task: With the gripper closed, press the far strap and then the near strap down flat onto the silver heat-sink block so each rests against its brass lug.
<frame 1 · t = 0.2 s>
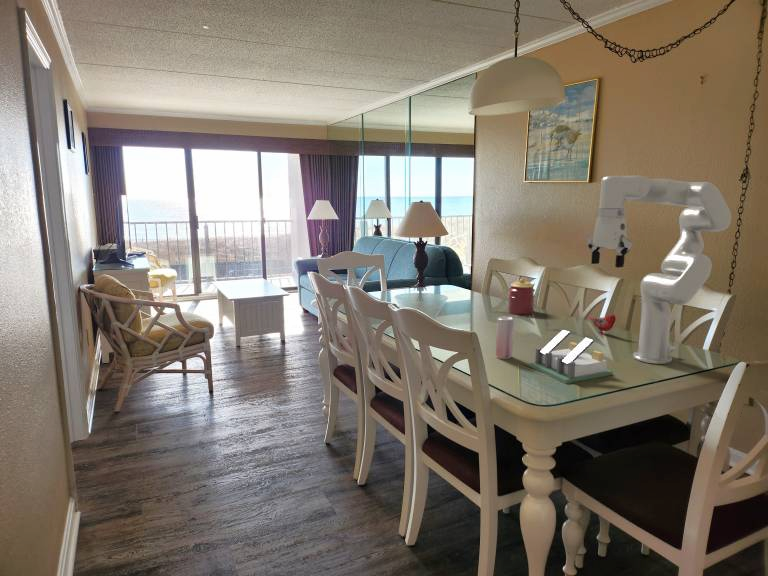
hand: (606, 265, 173), 36 cm above the table, tool pointing down, fingers open, 9 cm apart
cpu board: (570, 370, 177), on the table
beverage can: (503, 357, 192), on the table
near strap: (577, 351, 170), point 9 cm above the table, hinge at 35.0°
canister: (520, 312, 263), on the table
far strap: (555, 342, 180), point 9 cm above the table, hinge at 35.0°
decorative bird figurine: (599, 333, 223), on the table
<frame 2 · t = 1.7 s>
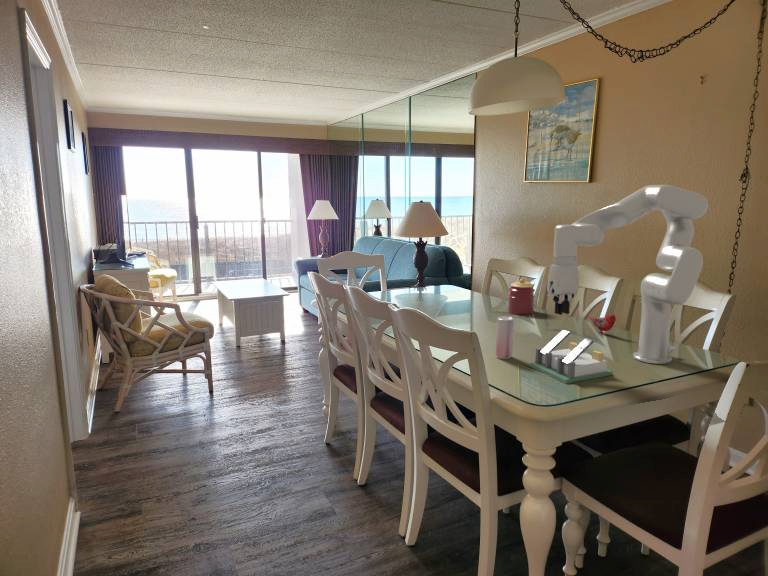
hand: (561, 313, 179), 19 cm above the table, tool pointing down, fingers closed
nothing on the table moved.
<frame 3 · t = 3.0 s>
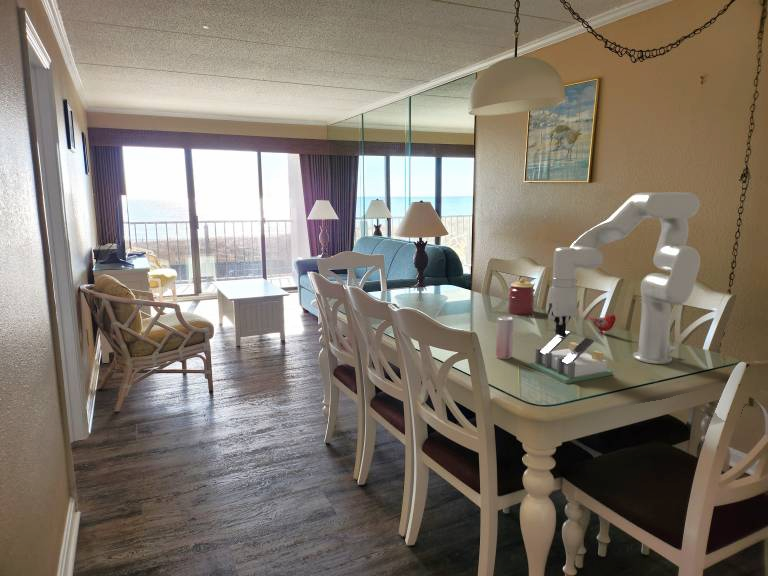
hand: (560, 334, 180), 11 cm above the table, tool pointing down, fingers closed
far strap: (555, 342, 180), point 9 cm above the table, hinge at 35.0°, touching gripper
everything else where it was.
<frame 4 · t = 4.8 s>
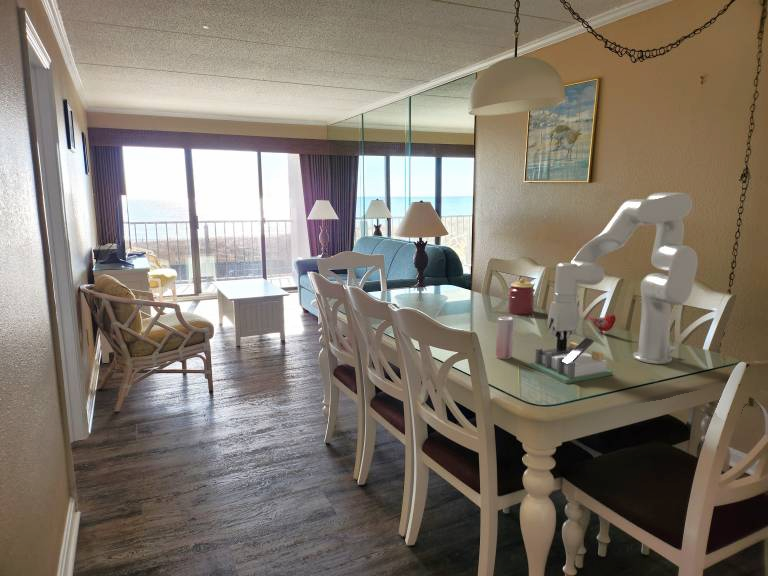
hand: (561, 349, 182), 6 cm above the table, tool pointing down, fingers closed
far strap: (557, 351, 181), point 5 cm above the table, hinge at 0.9°, touching gripper
everything else where it was.
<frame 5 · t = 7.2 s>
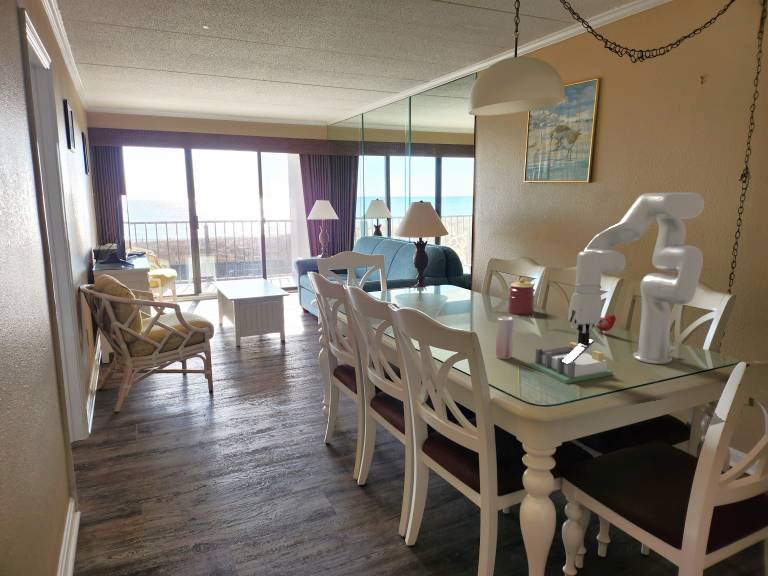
hand: (583, 343, 170), 11 cm above the table, tool pointing down, fingers closed
near strap: (577, 351, 170), point 9 cm above the table, hinge at 34.5°, touching gripper
far strap: (557, 351, 181), point 5 cm above the table, hinge at 0.8°
everything else where it was.
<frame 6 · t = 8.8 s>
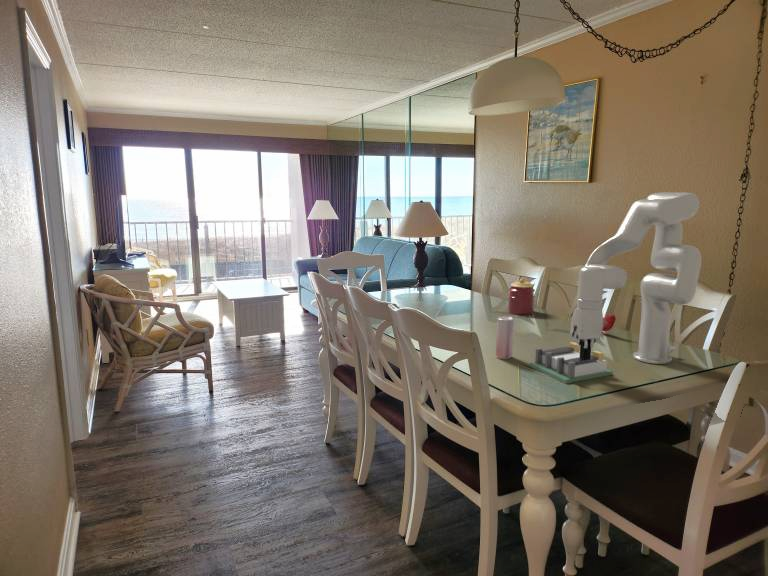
hand: (584, 358, 172), 6 cm above the table, tool pointing down, fingers closed
near strap: (580, 360, 171), point 6 cm above the table, hinge at 1.1°, touching gripper
everything else where it was.
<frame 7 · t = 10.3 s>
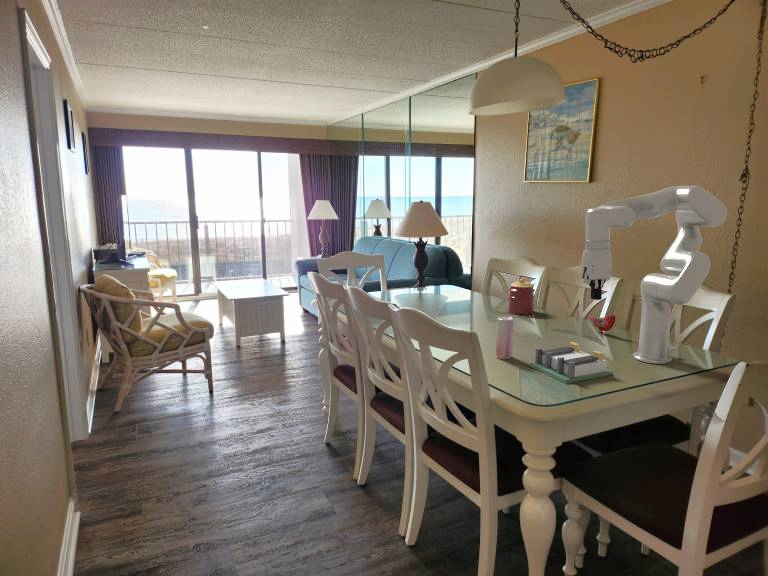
hand: (596, 299, 175), 25 cm above the table, tool pointing down, fingers closed
near strap: (580, 360, 171), point 5 cm above the table, hinge at 0.9°
everything else where it was.
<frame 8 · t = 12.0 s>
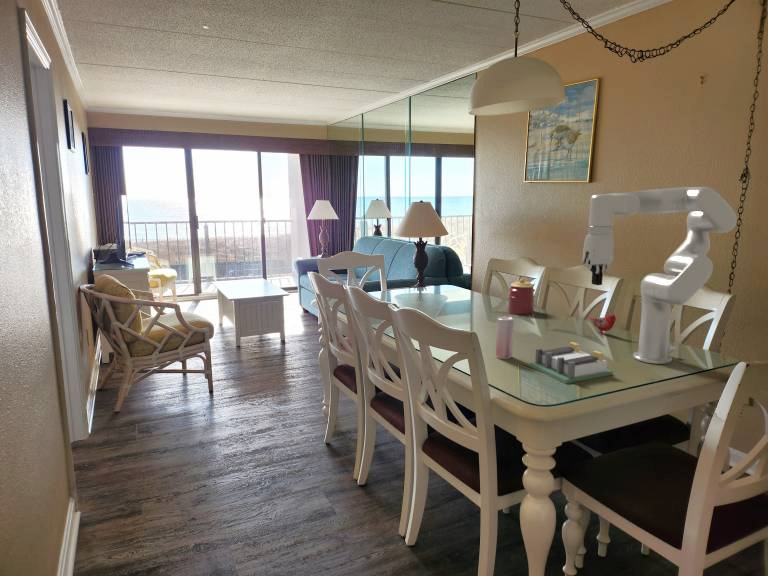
hand: (596, 284, 178), 29 cm above the table, tool pointing down, fingers closed
nothing on the table moved.
at the end: far strap at +1° (first picture: +35°); near strap at +1° (first picture: +35°) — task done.
